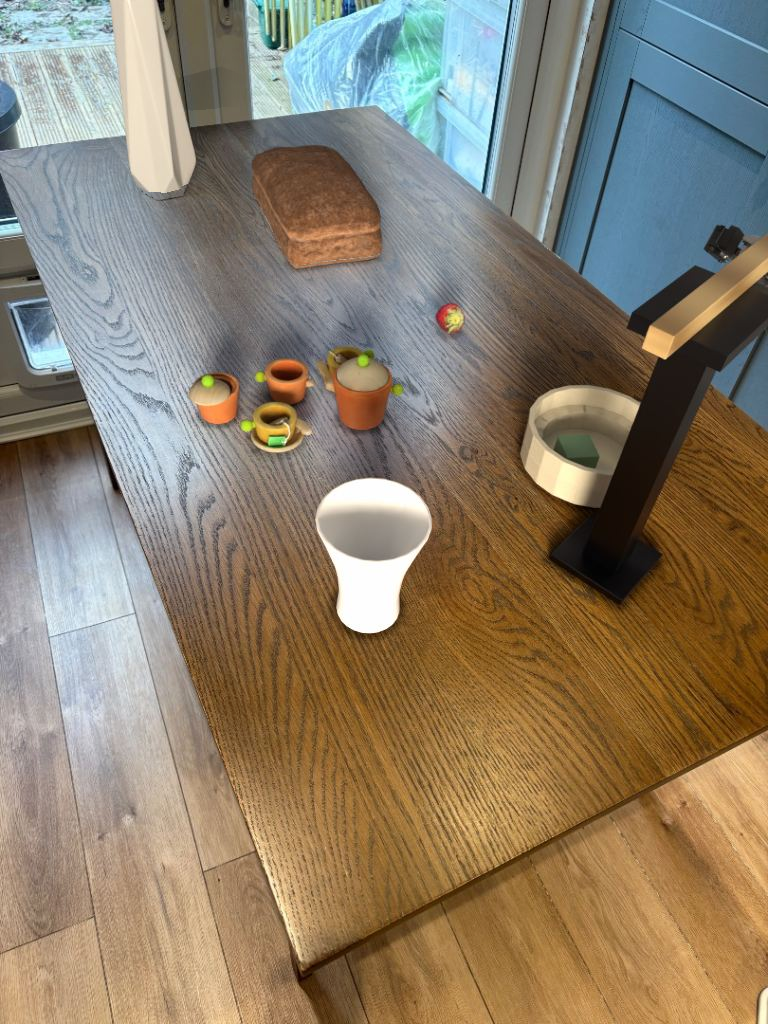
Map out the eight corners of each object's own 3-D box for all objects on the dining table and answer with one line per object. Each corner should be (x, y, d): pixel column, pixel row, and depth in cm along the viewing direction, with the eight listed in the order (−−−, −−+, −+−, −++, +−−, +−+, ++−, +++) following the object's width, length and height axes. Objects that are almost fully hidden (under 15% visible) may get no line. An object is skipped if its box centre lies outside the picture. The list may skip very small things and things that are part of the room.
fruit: (455, 317, 115) (459, 288, 112) (467, 339, 111) (472, 310, 108) (429, 320, 114) (432, 290, 111) (440, 342, 111) (444, 312, 107)
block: (581, 458, 94) (589, 434, 91) (591, 480, 91) (600, 456, 88) (550, 460, 93) (557, 435, 90) (559, 482, 90) (567, 458, 88)
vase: (115, 191, 138) (71, -24, 114) (166, 174, 144) (134, -34, 121) (158, 213, 133) (121, -7, 109) (208, 194, 139) (184, -18, 116)
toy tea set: (362, 358, 107) (365, 297, 100) (413, 423, 97) (420, 361, 90) (182, 402, 98) (170, 339, 91) (219, 478, 89) (210, 414, 81)
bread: (335, 188, 144) (336, 125, 136) (386, 262, 126) (390, 194, 117) (248, 196, 140) (243, 131, 132) (287, 274, 121) (284, 205, 113)
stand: (593, 515, 88) (689, 262, 65) (662, 557, 84) (791, 304, 61) (541, 566, 82) (626, 309, 59) (612, 614, 78) (734, 358, 55)
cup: (295, 609, 76) (290, 519, 66) (363, 551, 82) (368, 461, 72) (372, 670, 72) (380, 583, 62) (439, 605, 78) (455, 516, 68)
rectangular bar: (770, 243, 68) (779, 222, 66) (791, 252, 67) (801, 230, 66) (640, 348, 55) (649, 325, 54) (665, 360, 54) (674, 336, 53)
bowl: (649, 434, 99) (664, 398, 94) (653, 523, 88) (670, 486, 83) (525, 412, 100) (534, 375, 96) (513, 496, 89) (523, 459, 85)
